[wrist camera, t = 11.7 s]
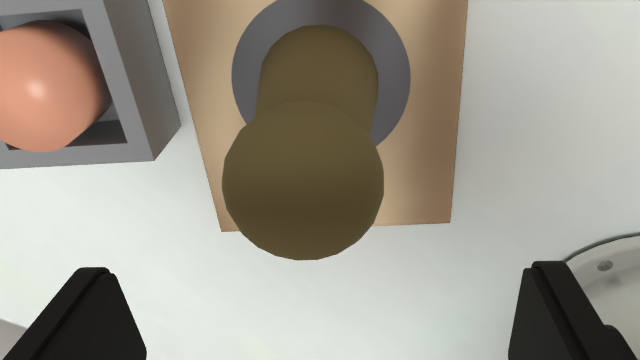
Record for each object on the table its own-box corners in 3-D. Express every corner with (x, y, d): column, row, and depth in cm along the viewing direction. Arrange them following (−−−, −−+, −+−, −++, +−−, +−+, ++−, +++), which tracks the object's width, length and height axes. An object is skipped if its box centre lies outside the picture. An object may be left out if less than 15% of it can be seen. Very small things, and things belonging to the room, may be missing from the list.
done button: (92, 15, 19) (52, 31, 17) (127, 121, 22) (98, 149, 19) (-15, 24, 20) (-69, 41, 17) (33, 127, 22) (-8, 155, 20)
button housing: (137, -32, 20) (96, -21, 17) (181, 126, 24) (154, 161, 21) (-22, -17, 21) (-93, -4, 18) (46, 134, 25) (-1, 169, 22)
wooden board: (476, -150, 17) (480, -152, 17) (447, 216, 27) (450, 223, 26) (139, -112, 19) (132, -113, 18) (223, 226, 28) (221, 232, 27)
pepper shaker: (234, 65, 22) (150, 181, 12) (340, -2, 20) (334, 74, 11) (301, 158, 24) (273, 313, 15) (399, 106, 22) (438, 245, 13)
